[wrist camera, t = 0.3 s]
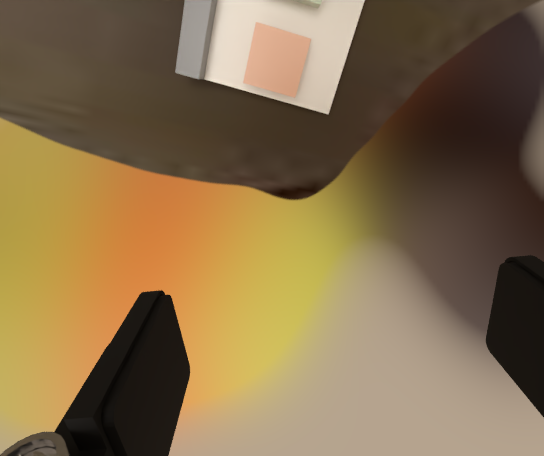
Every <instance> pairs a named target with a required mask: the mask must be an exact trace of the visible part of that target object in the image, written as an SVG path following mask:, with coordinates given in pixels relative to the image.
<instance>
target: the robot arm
mask: <svg viewBox="0 0 544 456" xmlns="http://www.w3.org/2000/svg"><path fill="white" fill-rule="evenodd" d="M486 344H487V347H488V349H489V351H490V353H491V354H492V355H493V356H494V357H495V359H496V360H497V361H498V362H499V364H500V365H501V366H502V367H503V368H504V370H505V371H506V372H507V373H508V374H509V376H510V377H511V378H512V379H513V380H514V382H515V383H516V384H517V385H518V387H519V388H520V389H521V390H522V391H523V393H524V394H525V395H526V396H527V398H528V399H529V400H530V401H531V402H532V404H533V405H534V406H535V407H536V409H537V410H538V411H539V412H540V413H541V415H542V416H543V417H544V262H543V261H541V260H540V259H538V258H537V257H535V256H531V255H530V256H519V257H509V258H507V259H506V260H505V262H504V263H503V264H501V265H500V267H499V271H498V276H497V282H496V287H495V293H494V298H493V304H492V309H491V314H490V319H489V325H488V330H487V335H486ZM189 376H190V365H189V361H188V357H187V353H186V350H185V346H184V343H183V339H182V335H181V331H180V328H179V324H178V320H177V316H176V312H175V309H174V305H173V301H172V298H171V296H170V295H165V293H164V292H163V291H150V292H142V293H141V294H140V295H139V297H138V298H137V300H136V302H135V303H134V305H133V307H132V308H131V310H130V312H129V313H128V315H127V317H126V318H125V320H124V321H123V323H122V325H121V326H120V328H119V330H118V331H117V333H116V334H115V336H114V338H113V339H112V341H111V343H110V344H109V345H108V346H107V347H106V349H105V351H104V352H103V354H102V355H101V357H100V359H99V360H98V362H97V363H96V365H95V367H94V368H93V370H92V372H91V373H90V375H89V376H88V378H87V380H86V381H85V383H84V385H83V386H82V388H81V389H80V391H79V393H78V394H77V396H76V398H75V400H74V401H73V403H72V404H71V406H70V407H69V409H68V411H67V412H66V414H65V415H64V417H63V419H62V420H61V422H60V424H59V425H58V427H57V429H56V430H55V432H41V433H37V434H34V435H30V436H29V437H26V438H24V439H22V440H20V441H18V442H17V443H15V444H14V445H12V446H11V447H9V448H8V449H6V450H5V451H4V452H3V453H2V454H1V455H0V456H168V455H169V451H170V447H171V444H172V440H173V436H174V432H175V429H176V425H177V421H178V418H179V414H180V410H181V407H182V403H183V399H184V395H185V392H186V388H187V384H188V381H189Z"/></svg>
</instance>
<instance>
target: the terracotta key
mask: <svg viewBox="0 0 544 456" xmlns="http://www.w3.org/2000/svg"><path fill="white" fill-rule="evenodd" d="M310 42H311V39H310V38H307V37H304V36H301V35H297V34H294V33H291V32H288V31H284V30H281V29H278V28H275V27H271V26H268V25H265V24H262V23H258V22H256V24H255V29H254V33H253V38H252V43H251V48H250V52H249V57H248V62H247V67H246V71H245V76H244V81H243V83H245V84H249V85H252V86H256V87H259V88H263V89H266V90H270V91H273V92H277V93H280V94H284V95H287V96H291V97H294V98H295V97H296V93H297V89H298V86H299V82H300V78H301V75H302V71H303V67H304V64H305V60H306V57H307V53H308V49H309V46H310Z"/></svg>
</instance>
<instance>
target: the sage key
mask: <svg viewBox="0 0 544 456" xmlns="http://www.w3.org/2000/svg"><path fill="white" fill-rule="evenodd" d="M293 1H297V2H300V3H303V4H306V5H309V6H312V7H315V8H319V6H320V5H321V2H322V0H293Z"/></svg>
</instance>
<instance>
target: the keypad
mask: <svg viewBox="0 0 544 456" xmlns="http://www.w3.org/2000/svg"><path fill="white" fill-rule="evenodd" d="M364 1H365V0H322V2H321V5H320V6H319V8H315V7H312V6H309V5H306V4H303V3H300V2H297V1H293V0H185V4H184V11H183V19H182V26H181V34H180V41H179V49H178V56H177V63H176V71H175V73H178V74H181V75H185V76H189V77H192V78H196V79H205V80H209V81H212V82H216V83H219V84H223V85H226V86H230V87H233V88H237V89H240V90H244V91H247V92H251V93H254V94H258V95H262V96H265V97H269V98H272V99H276V100H279V101H283V102H286V103H290V104H293V105H297V106H300V107H304V108H307V109H311V110H314V111H318V112H322V113H325V114H329V111H330V108H331V105H332V102H333V98H334V95H335V92H336V89H337V86H338V83H339V80H340V76H341V73H342V70H343V67H344V64H345V61H346V57H347V54H348V51H349V48H350V45H351V42H352V39H353V35H354V32H355V29H356V26H357V23H358V20H359V17H360V13H361V10H362V7H363V4H364ZM256 22H258V23H262V24H265V25H268V26H271V27H275V28H278V29H281V30H284V31H288V32H291V33H294V34H297V35H301V36H304V37H307V38H310V39H311V42H310V46H309V49H308V53H307V57H306V60H305V64H304V67H303V71H302V75H301V78H300V82H299V86H298V89H297V93H296V97H295V98H294V97H291V96H287V95H284V94H280V93H277V92H273V91H270V90H266V89H263V88H259V87H256V86H252V85H249V84H245V83H243V81H244V76H245V71H246V67H247V62H248V57H249V52H250V48H251V43H252V38H253V33H254V29H255V24H256Z"/></svg>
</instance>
